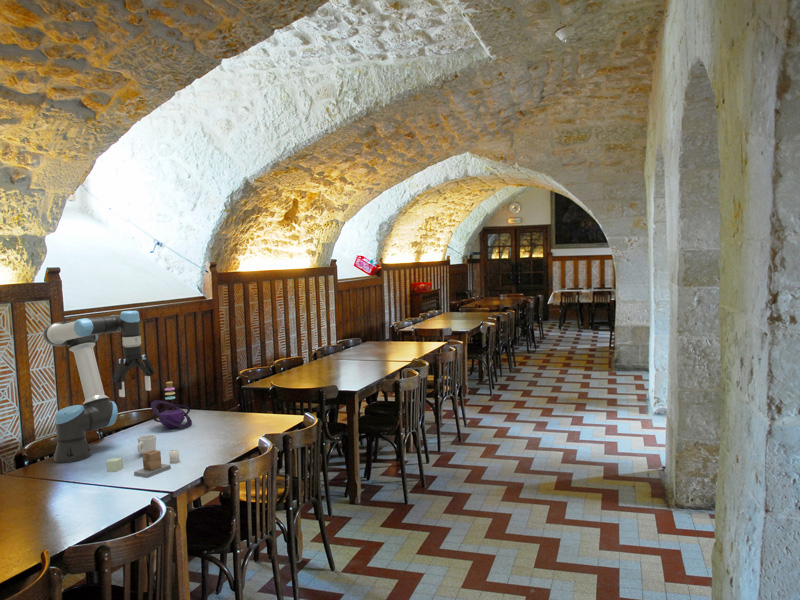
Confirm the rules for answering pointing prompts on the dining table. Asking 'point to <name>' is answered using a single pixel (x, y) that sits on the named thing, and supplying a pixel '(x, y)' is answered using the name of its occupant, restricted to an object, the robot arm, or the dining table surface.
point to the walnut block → (151, 460)
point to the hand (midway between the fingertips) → (135, 393)
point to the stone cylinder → (174, 456)
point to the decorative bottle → (171, 411)
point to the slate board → (150, 473)
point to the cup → (146, 443)
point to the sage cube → (114, 464)
